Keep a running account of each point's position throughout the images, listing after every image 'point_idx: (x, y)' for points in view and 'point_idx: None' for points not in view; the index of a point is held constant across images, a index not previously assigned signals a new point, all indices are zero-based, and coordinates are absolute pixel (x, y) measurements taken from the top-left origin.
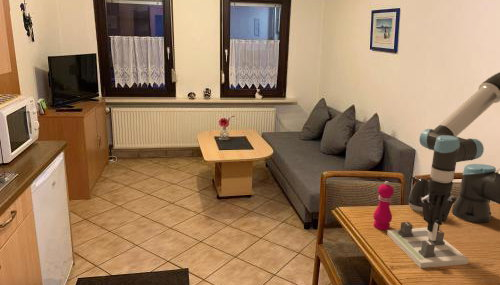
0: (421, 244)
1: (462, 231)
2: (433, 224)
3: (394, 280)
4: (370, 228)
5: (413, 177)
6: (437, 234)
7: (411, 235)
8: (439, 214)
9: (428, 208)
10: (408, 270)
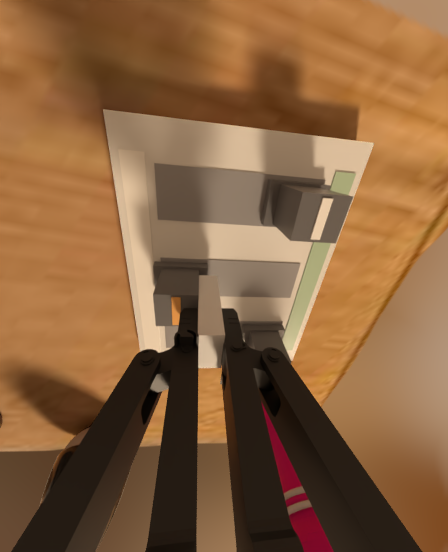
0: (253, 275)
1: (11, 340)
2: (224, 340)
3: None
4: (304, 373)
5: None
6: (194, 291)
7: (249, 326)
8: (197, 416)
9: (359, 505)
10: (414, 140)
